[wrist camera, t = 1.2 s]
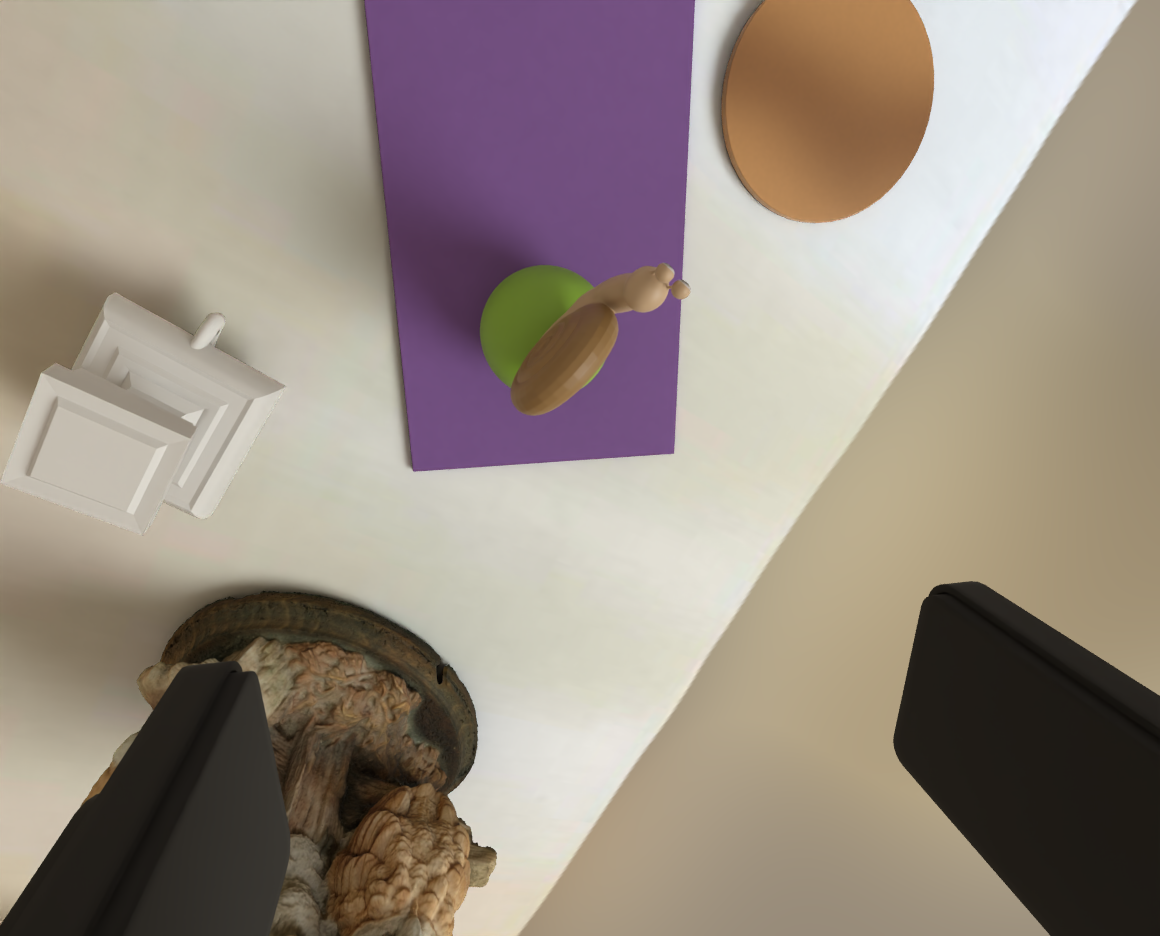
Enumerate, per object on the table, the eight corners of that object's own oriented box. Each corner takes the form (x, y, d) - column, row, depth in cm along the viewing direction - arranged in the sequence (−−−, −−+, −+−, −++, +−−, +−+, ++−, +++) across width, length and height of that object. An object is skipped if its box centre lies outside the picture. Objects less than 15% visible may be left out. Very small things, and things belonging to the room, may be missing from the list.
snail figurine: (633, 303, 29) (745, 339, 18) (543, 407, 30) (597, 503, 19) (546, 218, 27) (612, 199, 16) (452, 331, 28) (452, 388, 17)
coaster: (729, -41, 25) (734, -46, 25) (945, -24, 27) (954, -29, 27) (713, 223, 29) (717, 222, 28) (906, 223, 31) (913, 222, 30)
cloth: (361, -37, 23) (359, -40, 23) (693, -14, 25) (695, -17, 25) (413, 469, 30) (413, 471, 30) (672, 451, 32) (674, 453, 32)
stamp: (155, 261, 25) (22, 268, 17) (313, 351, 27) (257, 392, 20) (64, 445, 27) (-96, 527, 19) (220, 515, 29) (135, 615, 21)
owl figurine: (540, 693, 36) (609, 1049, 20) (422, 835, 37) (401, 1264, 22) (236, 538, 29) (-15, 877, 14) (113, 717, 31) (-234, 1201, 15)
